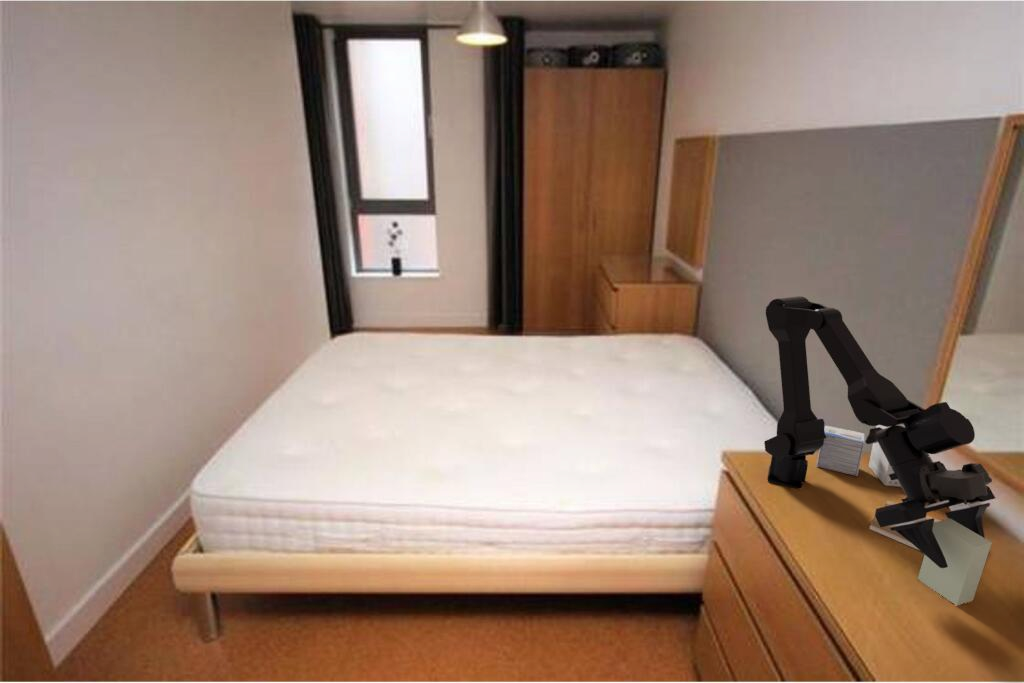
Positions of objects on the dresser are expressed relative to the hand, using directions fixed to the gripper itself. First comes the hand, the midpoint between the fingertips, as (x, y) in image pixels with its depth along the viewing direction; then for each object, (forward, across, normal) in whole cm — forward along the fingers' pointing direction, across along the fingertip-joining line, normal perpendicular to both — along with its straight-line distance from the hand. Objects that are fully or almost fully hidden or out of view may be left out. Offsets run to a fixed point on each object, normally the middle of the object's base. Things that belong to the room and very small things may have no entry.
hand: (964, 561), depth 82 cm
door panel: (+4, 0, +6) cm, 7 cm away
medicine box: (-20, +14, +29) cm, 38 cm away
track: (-4, +9, +13) cm, 17 cm away
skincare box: (-15, +22, +25) cm, 36 cm away
